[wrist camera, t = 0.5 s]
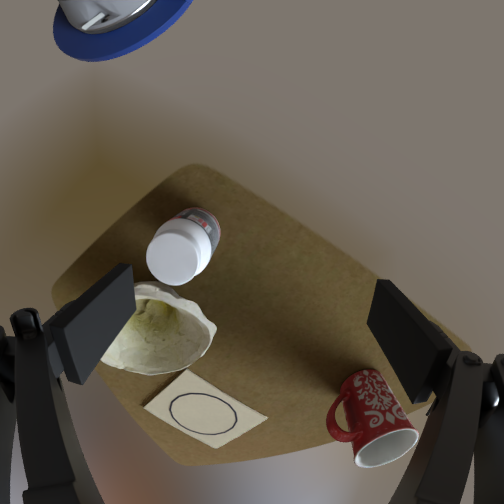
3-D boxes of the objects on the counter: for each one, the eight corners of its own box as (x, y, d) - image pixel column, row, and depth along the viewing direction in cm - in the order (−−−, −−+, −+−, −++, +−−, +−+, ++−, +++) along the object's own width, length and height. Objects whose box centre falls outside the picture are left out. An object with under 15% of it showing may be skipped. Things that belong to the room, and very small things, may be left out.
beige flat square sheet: (186, 368, 39) (186, 369, 38) (267, 417, 42) (267, 418, 41) (143, 406, 42) (143, 408, 42) (216, 447, 45) (216, 449, 45)
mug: (398, 369, 39) (431, 429, 26) (367, 407, 41) (389, 468, 28) (334, 352, 37) (359, 424, 25) (304, 394, 40) (315, 465, 27)
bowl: (164, 367, 39) (145, 415, 29) (97, 299, 36) (59, 336, 26) (242, 317, 36) (237, 368, 26) (166, 232, 33) (132, 259, 23)
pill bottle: (187, 197, 32) (158, 212, 22) (230, 223, 32) (218, 249, 23) (164, 238, 33) (130, 268, 24) (205, 264, 34) (185, 302, 24)
